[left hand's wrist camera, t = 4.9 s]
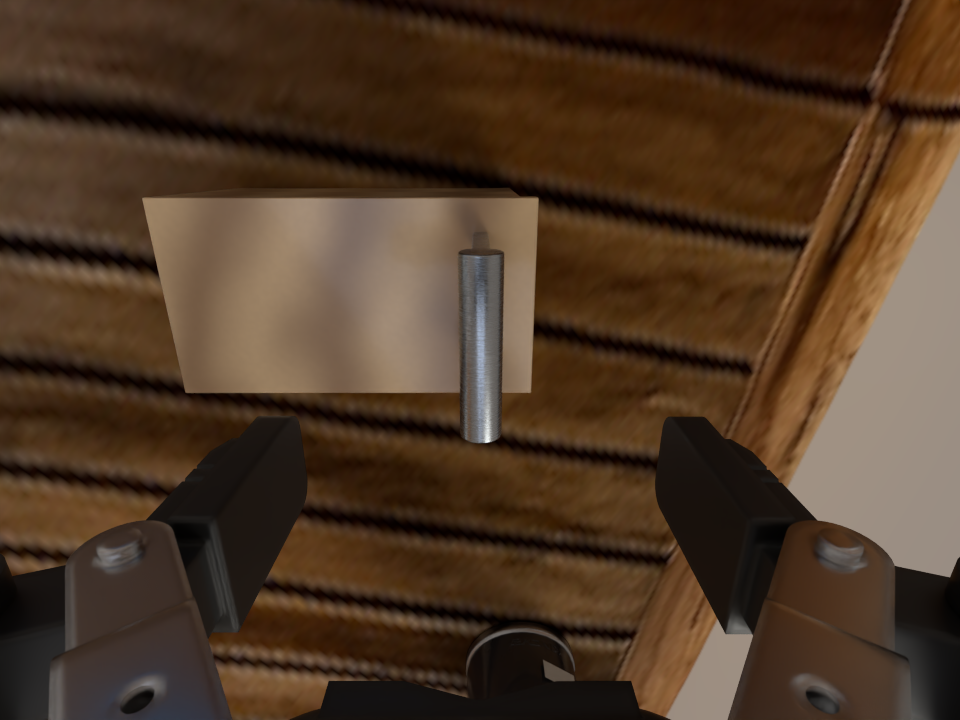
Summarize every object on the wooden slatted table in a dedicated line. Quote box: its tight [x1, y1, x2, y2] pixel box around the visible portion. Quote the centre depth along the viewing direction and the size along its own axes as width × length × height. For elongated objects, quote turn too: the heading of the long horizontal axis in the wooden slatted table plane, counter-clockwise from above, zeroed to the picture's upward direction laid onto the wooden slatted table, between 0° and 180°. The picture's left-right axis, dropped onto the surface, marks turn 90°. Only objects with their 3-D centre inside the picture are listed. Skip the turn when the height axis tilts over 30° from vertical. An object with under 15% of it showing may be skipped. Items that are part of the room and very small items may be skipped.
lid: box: [142, 197, 538, 443], centre depth 21 cm, size 17×9×8 cm, turn 90°
